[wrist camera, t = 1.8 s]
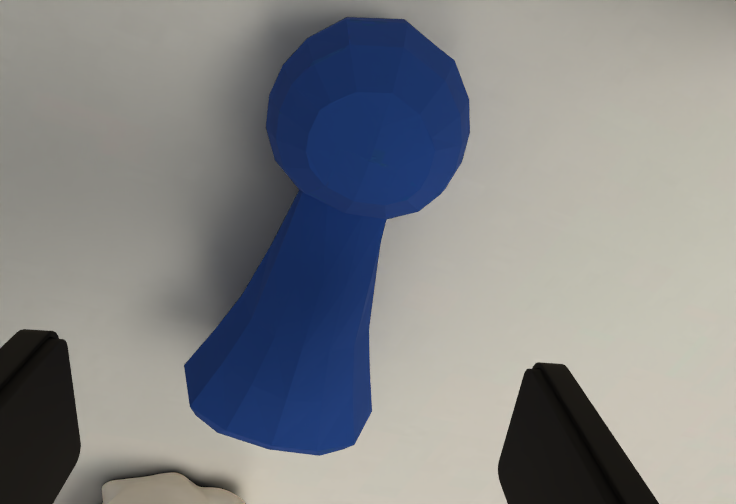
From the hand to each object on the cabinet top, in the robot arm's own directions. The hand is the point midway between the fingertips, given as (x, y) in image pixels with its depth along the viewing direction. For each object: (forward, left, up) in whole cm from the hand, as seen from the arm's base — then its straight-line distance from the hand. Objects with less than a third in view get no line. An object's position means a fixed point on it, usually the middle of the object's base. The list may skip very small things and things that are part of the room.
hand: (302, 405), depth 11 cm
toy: (0, 0, -10) cm, 10 cm away
